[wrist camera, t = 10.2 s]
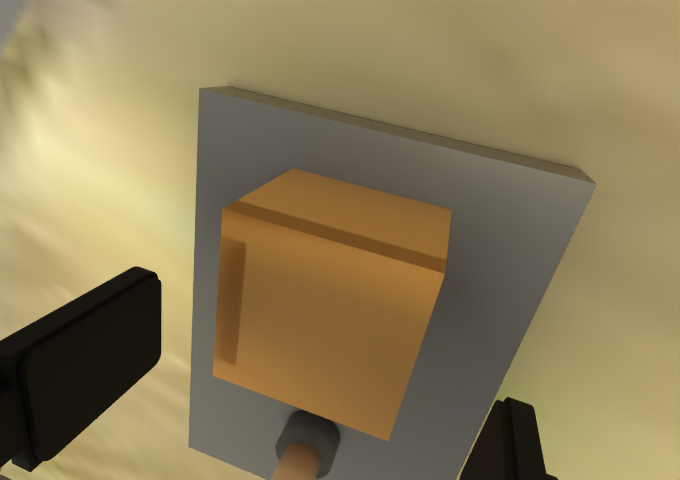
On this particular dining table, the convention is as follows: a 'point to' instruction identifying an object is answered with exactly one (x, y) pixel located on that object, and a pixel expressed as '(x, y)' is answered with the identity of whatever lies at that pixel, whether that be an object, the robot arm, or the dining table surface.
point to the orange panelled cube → (327, 295)
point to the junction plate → (450, 307)
